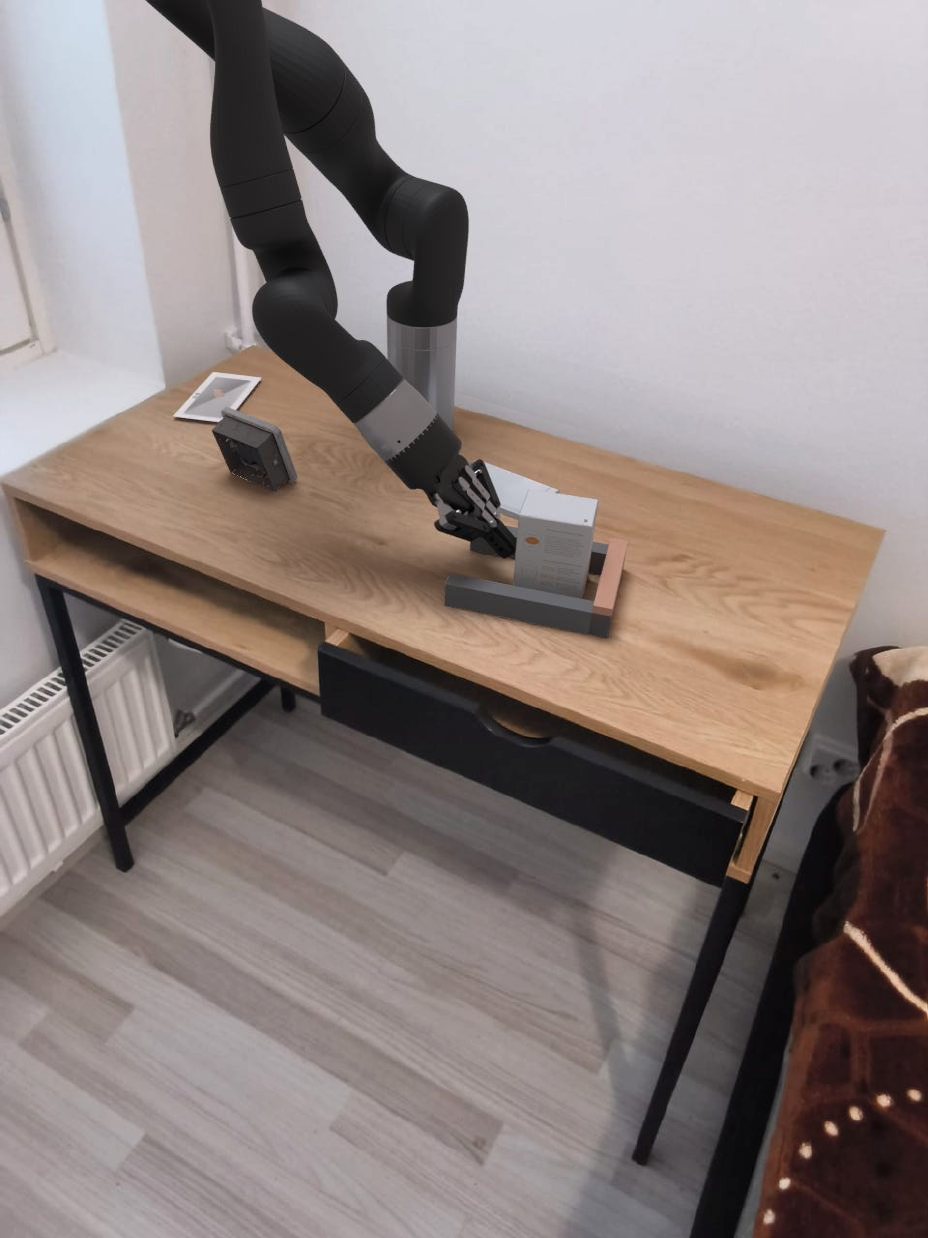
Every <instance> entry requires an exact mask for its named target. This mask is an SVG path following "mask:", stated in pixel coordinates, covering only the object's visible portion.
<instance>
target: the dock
mask: <svg viewBox="0 0 928 1238" xmlns="http://www.w3.org/2000/svg"><path fill="white" fill-rule="evenodd" d="M505 526H506V527H507V528H508V530H509V531H510V532H511V533H512V534H513V535H514V537H515V538H516V539H517V530H518V527H515V526H511V525H510V526H509V525H505ZM628 544H629V540H626V539H620V538H616V537H615V538H614V537H610V539H609V543H608V544H607V543H603V542H597V541H593V544H592V551H591V558H590V565H589V572H588V574H589V573H590V574H595V575H599V576H600V578H599V583H598V586H597V590H596V594H595V598H594V600H588V599H584V598H583V599H580V598H574V597H569V596H564V595H559V594H554V593H549V592H544V591H539V590H534V589H528V588H523V587H518V586H513V584H507V583H501V582H497V581H491V580H486V579H482V578H477V577H473V576H466V575H463V574H461V575H460V574H456V573H452V572H449V574H448V577H447V579H446V581H445V583H444V600H443V601H444V602H443V603H444V606H445V607H450V608H456V609H460V610H466V611H469V612H475V613H479V614H483V615H484V614H485V615H489V616H495V617H498V618H503V619H504V618H505V619H509V620H514V621H520V622H525V623H530V624H534V625H539V626H545V627H550V628H554V629H558V630H564V631H568V632H574V633H579V634H584V635H588V636H592V637H593V636H594V637H598V638H603V639H608V636H609V632H610V627H611V624H612V618H613V615H614V614H613V613H614V610H615V606H616V600H617V597H618V592H619V588H620V585H621V584H620V583H621V579H622V576H623V570H624V566H625V561H626V555H627V548H628ZM469 551H473V552H479V553H484V554H489V555H493V556H499V555H498V554H497V553H496V552H495V551H494V550H493V548H492V547H491V546H490V545H489V544H488V543H487V542H486V541H485V540H484V539H483V538H482V537H479V538H477V539H475V540H474V541H472V542H470V544H469ZM515 554H516V553H514V554H513V555H511V556H509V557H508V558H510V559H514V560H515Z"/></svg>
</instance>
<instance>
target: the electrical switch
mask: <svg viewBox="0 0 928 1238" xmlns="http://www.w3.org/2000/svg"><path fill="white" fill-rule="evenodd" d="M221 413H222V417H223V419H222V420H220V421H219V422H217V425H215V426H214V427H212V429H211V432H212V434H213V435H212V436H213V437H214V439H215V441H216V444H217V446H218V448H219V450H220V452H221V455H222V457H223V460H224V461H225V464H226V467H227V468H228V470H229V473H230V474H232V473H234V474H235V475H236V476H235V475H234V476H235V477H238V476H239V477H238V478H240V476H241V477H242V478H244V479H243V480H245V479H247V480H248V481H247V480H246V481H247V482H249V481H251V482H250V483H252V484H254V485H257V486H259V487H261V488H264V489H266V490H269V491H272V492H274V493H276V492H277V491H278V490H279V489H280V488H281V487H282V486H284V485H285V484H286V482H288V483H289V484H292V483H293V484H294V483H295V482H296V481H297V480H298V478H299V477H298V475H297V471H296V469H295V466H294V464H293V460H292V457H291V454H290V452H289V449H288V446H287V443H286V441H285V438H284V435H283V433H282V430H281V429H280V428H279V426H278V425H276V424H273V423H270V422H267V421H266V420H262V419H260V418H257V417H255V416H252V415H249V414H247V413H244V412H242V411H239V410H238V409H236V410H234V409H231V408H229V407H226V408H224V409H223V410H221ZM260 472H262V473H263V474H262V475H261V476H259V473H260ZM237 475H238V476H237ZM242 478H241V479H242Z"/></svg>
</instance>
